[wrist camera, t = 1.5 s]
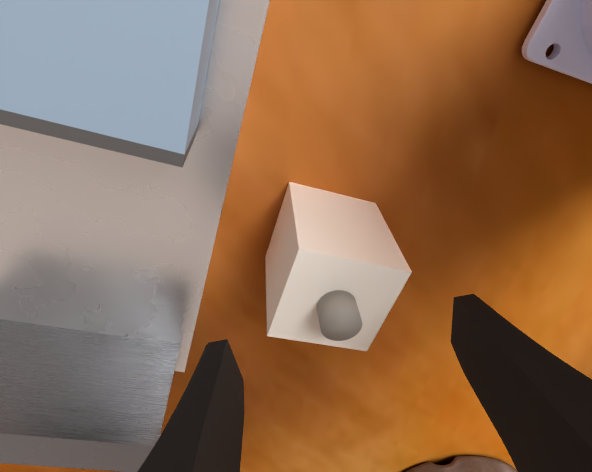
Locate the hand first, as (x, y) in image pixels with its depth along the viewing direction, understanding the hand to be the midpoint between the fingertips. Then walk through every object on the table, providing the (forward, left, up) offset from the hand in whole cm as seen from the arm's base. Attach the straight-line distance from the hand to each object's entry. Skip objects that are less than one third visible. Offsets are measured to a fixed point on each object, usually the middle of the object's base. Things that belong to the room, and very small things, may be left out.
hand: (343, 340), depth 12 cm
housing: (0, 0, -7) cm, 7 cm away
